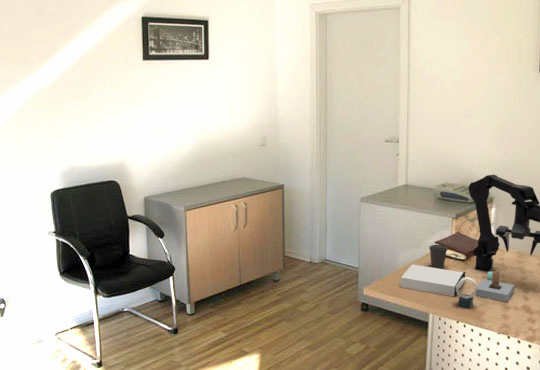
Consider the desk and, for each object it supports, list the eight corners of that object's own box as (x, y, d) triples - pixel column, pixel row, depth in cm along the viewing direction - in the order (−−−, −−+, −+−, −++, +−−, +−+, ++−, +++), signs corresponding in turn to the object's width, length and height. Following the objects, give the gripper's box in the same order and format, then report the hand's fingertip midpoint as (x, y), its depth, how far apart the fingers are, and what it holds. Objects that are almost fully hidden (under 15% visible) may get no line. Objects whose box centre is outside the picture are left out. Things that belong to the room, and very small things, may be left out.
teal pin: (486, 284, 255) (486, 273, 254) (487, 282, 258) (488, 271, 256) (493, 285, 254) (493, 274, 253) (494, 283, 256) (495, 272, 255)
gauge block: (475, 295, 244) (475, 288, 243) (483, 286, 253) (483, 279, 253) (507, 302, 237) (507, 295, 237) (513, 291, 247) (514, 285, 246)
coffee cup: (432, 262, 281) (433, 242, 279) (449, 266, 276) (450, 245, 274) (425, 268, 274) (426, 246, 272) (442, 271, 270) (444, 250, 268)
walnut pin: (490, 294, 245) (491, 273, 243) (491, 292, 247) (493, 271, 245) (497, 295, 243) (499, 274, 241) (499, 293, 246) (500, 272, 244)
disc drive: (456, 298, 243) (456, 286, 242) (400, 288, 253) (400, 276, 252) (464, 283, 258) (465, 272, 257) (411, 274, 268) (412, 263, 267)
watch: (456, 300, 239) (457, 273, 237) (477, 304, 236) (479, 277, 233) (453, 305, 234) (454, 278, 232) (474, 309, 231) (476, 282, 228)
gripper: (493, 218, 249) (491, 254, 252) (543, 225, 239) (539, 263, 242) (500, 212, 258) (497, 247, 261) (548, 218, 248) (544, 255, 251)
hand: (519, 253), depth 254 cm, fingers open, 9 cm apart
